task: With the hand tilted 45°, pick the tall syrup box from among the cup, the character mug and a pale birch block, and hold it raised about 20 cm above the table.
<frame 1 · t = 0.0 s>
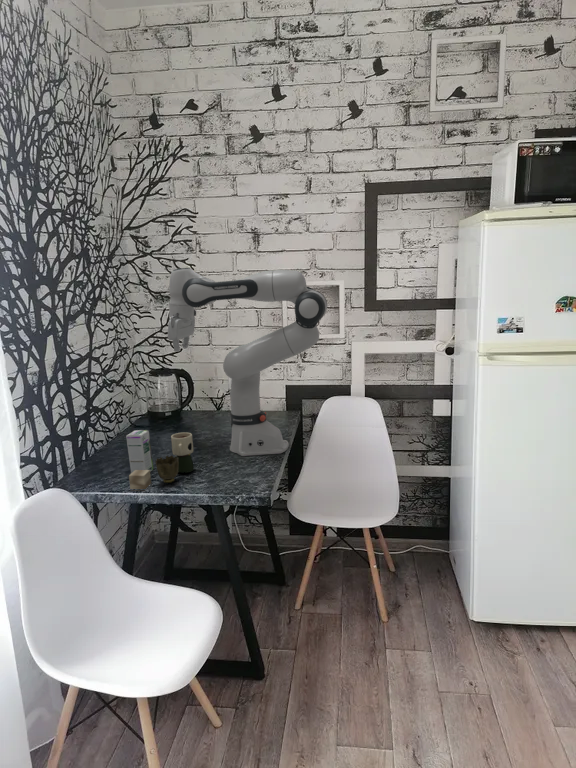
hand: (181, 349, 208), 39 cm above the table, tool pointing down, fingers open, 8 cm apart
birch block: (141, 487, 179), on the table
cup: (169, 483, 182), on the table
syrup box: (142, 473, 192), on the table
character mug: (184, 472, 191), on the table
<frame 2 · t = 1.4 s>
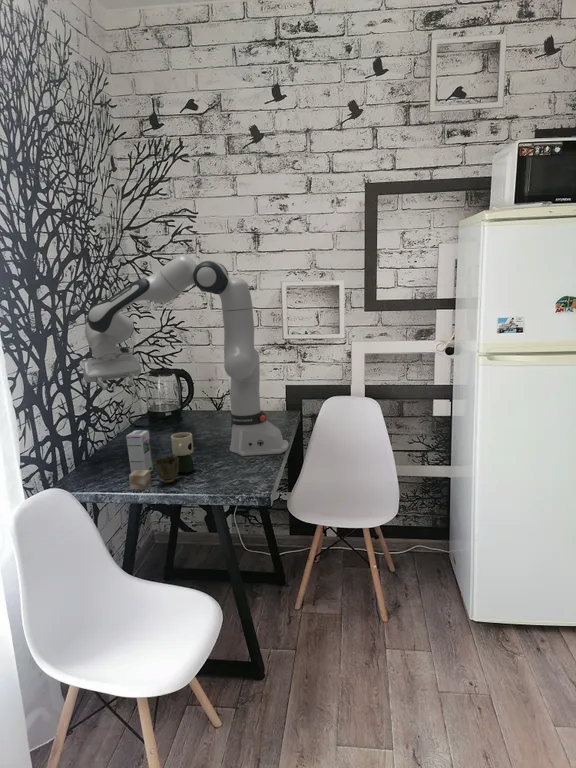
hand: (119, 387, 197), 28 cm above the table, tool tilted 45°, fingers open, 8 cm apart
nothing on the table moved.
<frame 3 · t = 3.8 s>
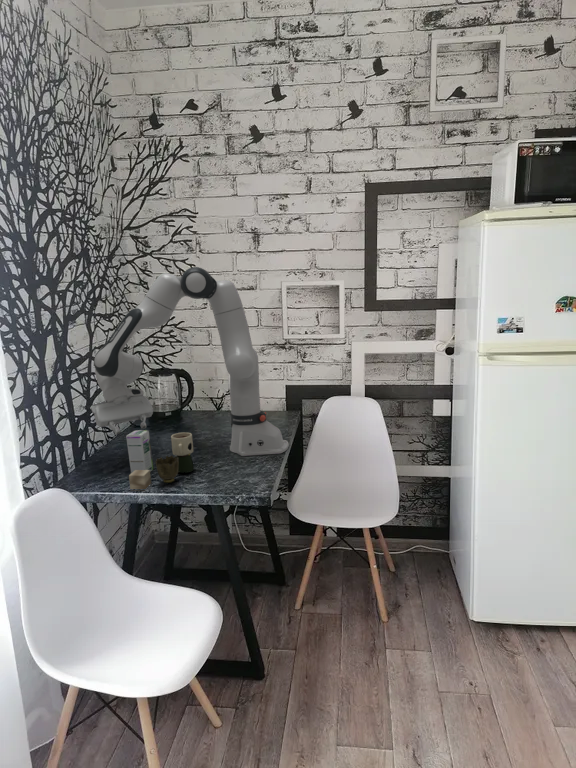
hand: (131, 430, 194), 14 cm above the table, tool tilted 45°, fingers open, 8 cm apart
nothing on the table moved.
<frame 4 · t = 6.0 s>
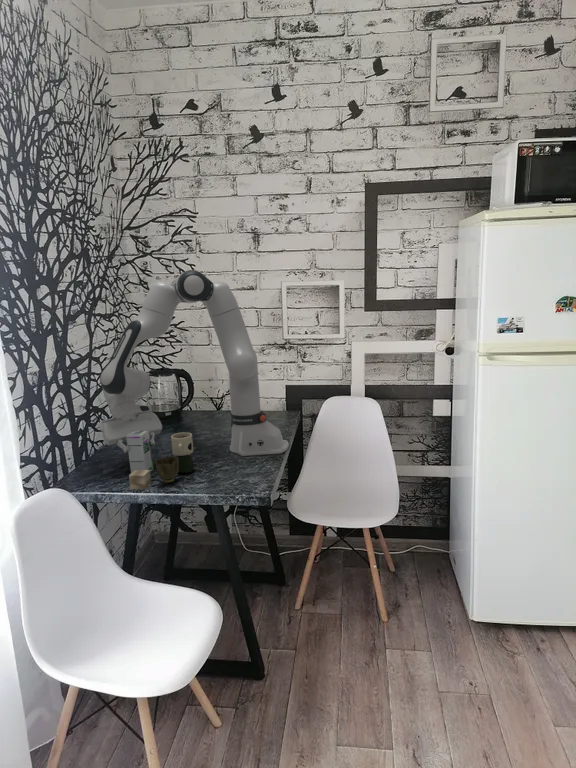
hand: (140, 448, 190), 9 cm above the table, tool tilted 45°, fingers closed on syrup box, 8 cm apart
syrup box: (142, 473, 192), on the table, touching gripper
everything else where it was.
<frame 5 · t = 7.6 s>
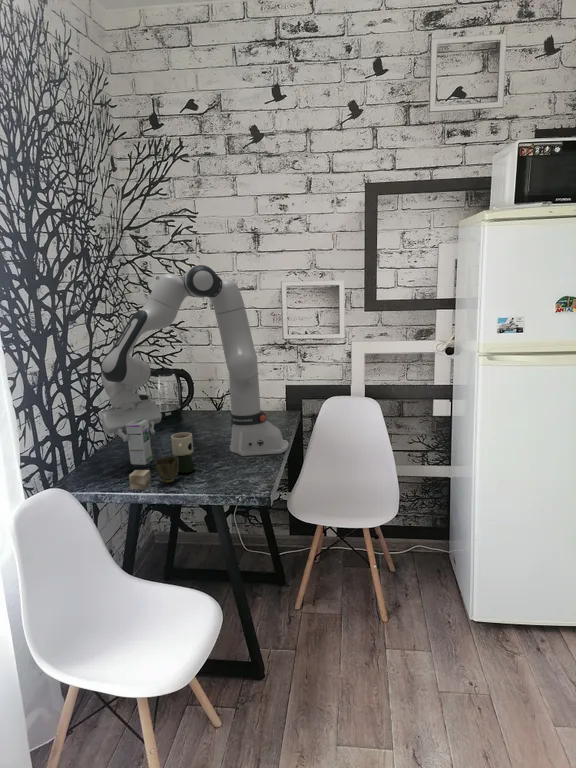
hand: (139, 437, 189), 13 cm above the table, tool tilted 45°, fingers closed on syrup box, 8 cm apart
syrup box: (142, 462, 191), point 4 cm above the table, touching gripper
everything else where it was.
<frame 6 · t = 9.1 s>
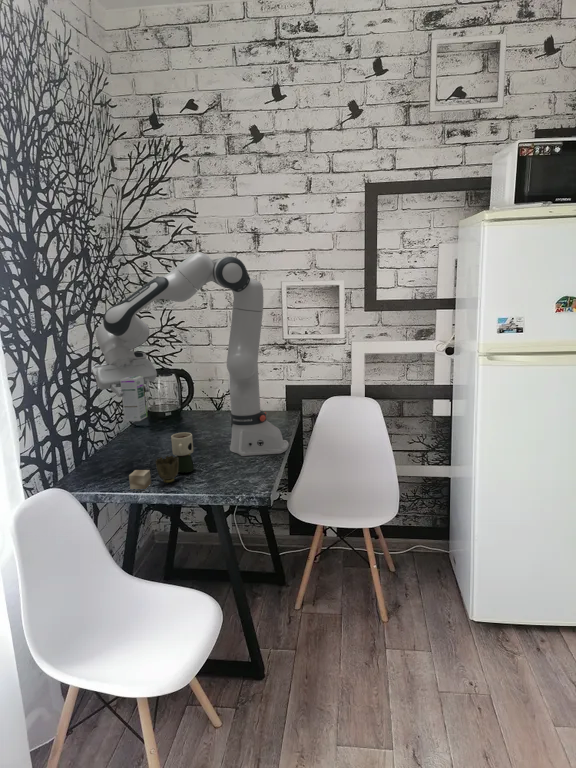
hand: (134, 393, 186), 28 cm above the table, tool tilted 45°, fingers closed on syrup box, 8 cm apart
syrup box: (136, 419, 188), point 19 cm above the table, touching gripper
everything else where it was.
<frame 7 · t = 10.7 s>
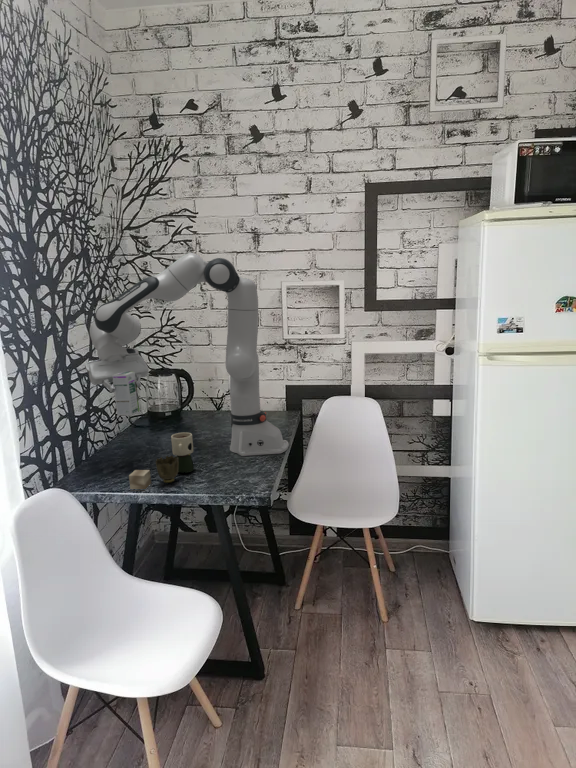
hand: (126, 388, 192), 29 cm above the table, tool tilted 45°, fingers closed on syrup box, 8 cm apart
syrup box: (128, 414, 194), point 20 cm above the table, touching gripper
everything else where it was.
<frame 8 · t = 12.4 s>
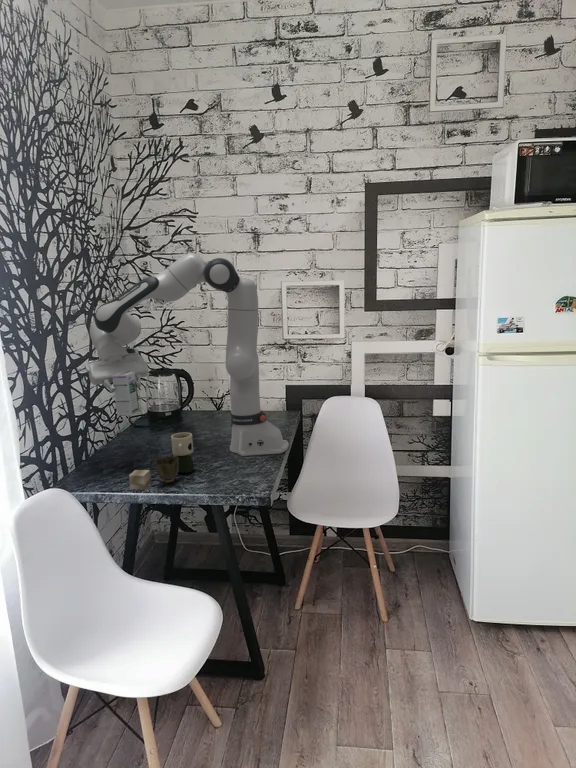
hand: (126, 388, 192), 29 cm above the table, tool tilted 45°, fingers closed on syrup box, 8 cm apart
syrup box: (128, 414, 194), point 20 cm above the table, touching gripper
everything else where it was.
at the end: the gripper is holding syrup box; syrup box point 19.6 cm above the table; character mug moved 0.2 cm from its start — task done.
